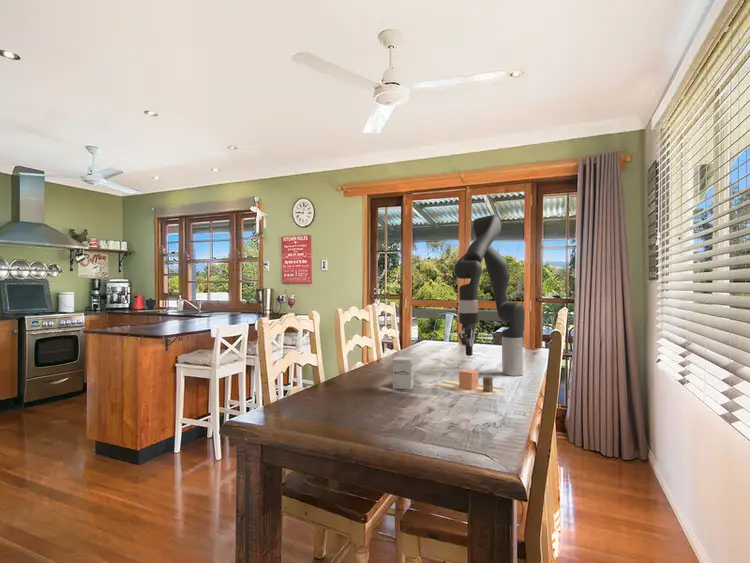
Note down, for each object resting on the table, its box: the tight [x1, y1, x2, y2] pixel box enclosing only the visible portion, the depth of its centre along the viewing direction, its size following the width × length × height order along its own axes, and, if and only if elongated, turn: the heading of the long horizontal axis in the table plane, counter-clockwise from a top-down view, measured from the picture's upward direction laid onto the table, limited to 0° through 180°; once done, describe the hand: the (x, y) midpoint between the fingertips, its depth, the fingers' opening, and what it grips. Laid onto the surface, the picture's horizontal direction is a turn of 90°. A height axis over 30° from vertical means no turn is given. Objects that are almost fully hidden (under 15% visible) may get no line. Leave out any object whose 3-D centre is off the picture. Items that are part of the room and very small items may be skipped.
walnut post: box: [482, 376, 494, 392], centre depth 157 cm, size 3×3×5 cm
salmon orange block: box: [458, 368, 479, 390], centre depth 163 cm, size 5×5×7 cm
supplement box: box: [392, 356, 414, 393], centre depth 165 cm, size 7×7×13 cm
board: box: [431, 379, 504, 398], centre depth 163 cm, size 15×24×1 cm, turn 49°
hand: (469, 355), depth 163 cm, fingers closed
